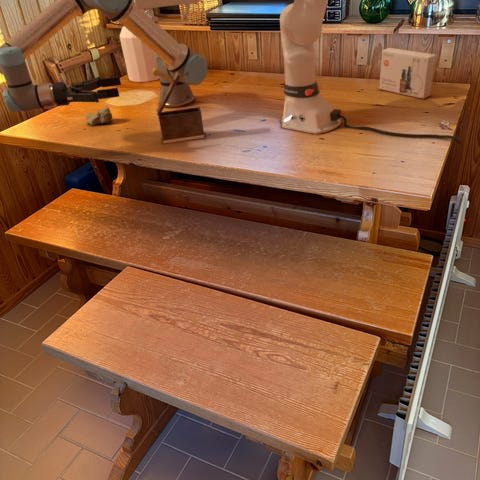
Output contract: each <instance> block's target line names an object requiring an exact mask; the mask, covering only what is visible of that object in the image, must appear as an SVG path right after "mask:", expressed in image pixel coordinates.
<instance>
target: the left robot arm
mask: <svg viewBox="0 0 480 480" xmlns="http://www.w3.org/2000/svg"><path fill="white" fill-rule="evenodd" d="M92 10H97V11H98V12H100V13H101V14H103V15H104V16H105V17H106V18H107V19H108V20H110V22H112V23H119V24H121V25H122V27H123V26H125V27H126V28H127V29H128V30H129V31H130V32H131V33H133V34H134V35H135V36H136V37H137V38H138V39H139V40H141V41H142V42H143V43H144V44H145V45H146V46H147V47H149V48H150V49H151V50H152V51H153V52H154V53H155V55H156V62H157V67H158V70H159V71H160V72H161V73H163V74H165V75H167V76H169V77H170V78H172V79H173V78H174V76H175V74H176V72H177V71H178V72H179V73H180V78H179V80H178V82H177V84H176V86H175V87H174V89H173V91H172V93H171V95H170V97H169V99H168V101H167V103H166V105H165V107H164V108H180V107H181V108H182V107H185V106H188V105H190V104H193V103H194V102H195V95H194V93H193V91H192V89H191V86H198V85H200V84H202V83H203V82H204V81H205V79H206V78H207V75H208V67H209V66H208V62H207V60H206V58H205V57H204V56H203V55H201V54H198V53H195V52H194V51H193V50H192V49H190V47H189V46H188V45H186V43H178V41H176V40H175V38H174V37H172V36H171V35H170V34H169V33H168V31H166V30H165V29H164V28H162V26H160V24H159V23H157V24H154V21H153V18H152V17H151V15H150V14H149V13H147V12H146V11H145V9H138V8H137V7H136V6H135V0H54V1H53V2H51V3H50V4H49V5H48V6H47V7H46V8H44V9H43V10H42V11H41V12H39V14H37V15H36V16H35V17H34V18H33V19H31V20H30V21H29V22H28V23H26V24H25V25H24V26H23V27H21V28H20V29H19V30H18V31H17V32H16V33H15V34H13V35H12V36H11V37H10V38H9V39H8V40H6V41H5V42H4V43H3V44H1V45H0V74H1V75H3V77H4V80H5V83H6V86H7V88H4V90H3V92H2V96H3V101H4V104H5V107H6V108H7V109H8V110H9V112H13V113H14V112H15V113H16V112H27V111H28V112H29V111H32V110H41V109H48V110H51V109H52V108H56V107H57V106H58V107H63V106H65V107H66V106H69V105H70V104H71V103H100V100H105V99H111V98H113V99H114V98H119V97H120V93H119V89H118V87H117V86H122V82H121V77H120V76H113V77H106V78H101V76H97V77H95V78H91V79H87V80H83V81H79V82H71V84H70V85H71V86H67V84H66V82H65V81H57V82H53V83H52V82H47V83H40V84H33V81H32V78H31V75H30V72H29V68H28V65H27V62H26V60H27V59H28V58H29V57H30V56H31V55H33V54H34V53H35V52H36V51H37V50H38V49H39V48H41V47H42V46H43V45H44V44H46V43H47V42H48V41H49V40H51V39H52V38H53V37H54V36H55V35H56V34H58V32H60V31H61V30H62V29H63V28H64V27H66V26H67V25H68V24H69V23H71V22H72V20H74V19H75V18H77V17H83V16H84V15H85V14H86V13H88V12H90V11H92ZM159 78H160V79H159V84H160V91H159V99H158V101H159V104H160V103H161V101H162V99H163V97H164V95H165V94H166V92H167V90H168V88H169V86H170V84H171V82H169V81H167V80H165V79H164V78H162V77H160V76H159ZM110 87H112V88H110ZM98 88H104V89H98ZM95 89H97V90H96V91H94V90H95Z"/></svg>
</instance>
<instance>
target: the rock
mask: <svg viewBox="0 0 480 480" xmlns="http://www.w3.org/2000/svg"><path fill="white" fill-rule="evenodd" d="M112 119H113V113H112V112H111V109H110V107H108V106H106V105H105V106H103V107H102V108H101V109H98V110H97V111H96V113H87V114H85V120H86V123H87V124H88V125H90V126H97V125H103V124H105V125H106V124H109V123H110V122H112Z"/></svg>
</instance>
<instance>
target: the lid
mask: <svg viewBox="0 0 480 480" xmlns="http://www.w3.org/2000/svg"><path fill="white" fill-rule="evenodd" d="M153 75H154V76H160V77H162V78H164V79H165V80H167V81H169V82H171V84H170V86H169V88H168V90H167V92H166V94H165V95H164V97H163V99H162V101H161V103H160V102H159V105H158V107H157V109H156V115H157V116H158V117H159V116H160V114H161V113H162V112H164V111H163V110H164V109H165V108H166V107H165V105H166V103H167V101H168V99H169V97H170V95H171V93H172V91H173V89H174V87H175V86H176V84H177V82H178V80H179V78H180V73H179V72H178V71H177V72H176V74H175V76H174V78H173V79H172V78H170V77H169V76H167V75H165V74H163V73H161V72H160V71H159V70H158V68H156V67H155V68H153Z"/></svg>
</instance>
